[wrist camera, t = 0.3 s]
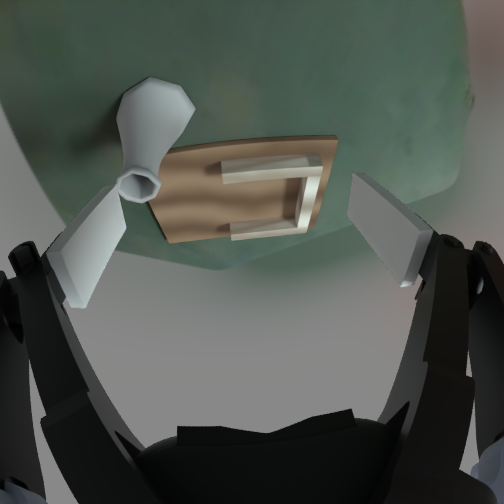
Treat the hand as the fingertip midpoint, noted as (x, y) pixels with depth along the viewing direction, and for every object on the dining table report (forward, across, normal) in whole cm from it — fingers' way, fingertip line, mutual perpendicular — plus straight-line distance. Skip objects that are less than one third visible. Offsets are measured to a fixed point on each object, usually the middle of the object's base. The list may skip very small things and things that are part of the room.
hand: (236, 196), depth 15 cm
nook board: (+19, +1, -7) cm, 20 cm away
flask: (+13, -7, +4) cm, 15 cm away
